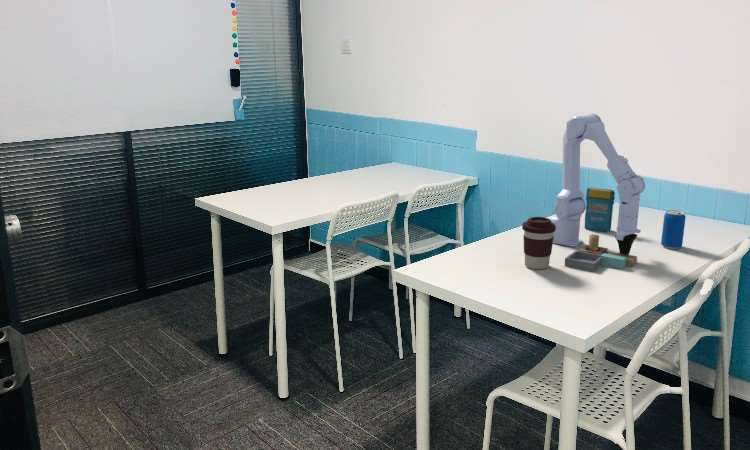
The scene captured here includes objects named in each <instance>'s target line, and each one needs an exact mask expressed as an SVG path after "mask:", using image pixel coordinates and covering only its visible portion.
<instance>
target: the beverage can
mask: <svg viewBox="0 0 750 450" xmlns="http://www.w3.org/2000/svg"><path fill="white" fill-rule="evenodd" d="M685 213H686V212H684V211H682V210H675V209H671V210H666V211H665V213H664V215H663V222H662V233H661V239H660V241H661V242H660V245H661V246H662V247H663V248H664V249H668V250H678V249H680V248H682V247H683V243H684V242H683V241H684V235H685V234H684V233H685V225H686V215H685Z"/></svg>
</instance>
